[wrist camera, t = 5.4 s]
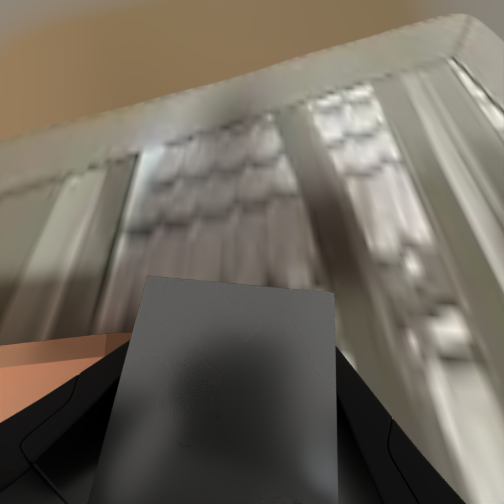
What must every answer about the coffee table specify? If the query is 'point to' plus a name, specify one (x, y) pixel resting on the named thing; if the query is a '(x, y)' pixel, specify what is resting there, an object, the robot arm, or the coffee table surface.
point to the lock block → (224, 399)
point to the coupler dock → (47, 366)
